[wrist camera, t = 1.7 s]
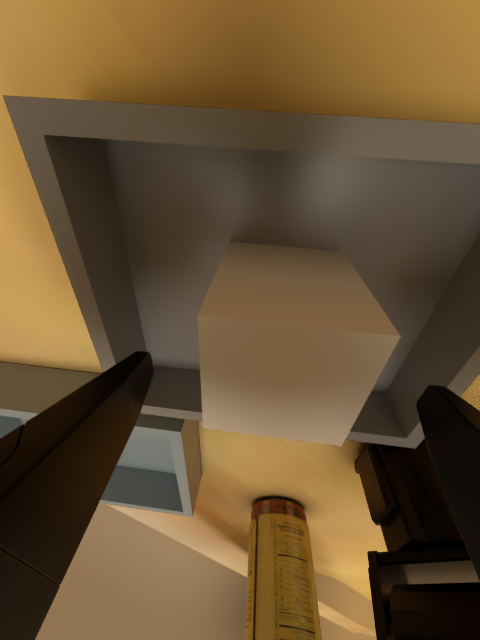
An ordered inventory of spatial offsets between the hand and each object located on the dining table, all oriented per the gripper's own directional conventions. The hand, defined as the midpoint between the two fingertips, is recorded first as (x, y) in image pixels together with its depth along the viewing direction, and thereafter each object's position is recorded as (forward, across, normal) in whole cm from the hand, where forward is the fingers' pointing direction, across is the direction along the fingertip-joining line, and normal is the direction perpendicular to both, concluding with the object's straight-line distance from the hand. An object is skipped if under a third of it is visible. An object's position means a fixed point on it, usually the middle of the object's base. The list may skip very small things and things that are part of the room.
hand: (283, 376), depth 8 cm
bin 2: (+6, 0, 0) cm, 6 cm away
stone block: (+5, 0, 0) cm, 5 cm away
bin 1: (+6, +13, +15) cm, 21 cm away
